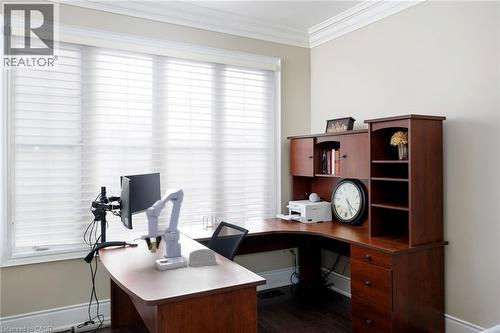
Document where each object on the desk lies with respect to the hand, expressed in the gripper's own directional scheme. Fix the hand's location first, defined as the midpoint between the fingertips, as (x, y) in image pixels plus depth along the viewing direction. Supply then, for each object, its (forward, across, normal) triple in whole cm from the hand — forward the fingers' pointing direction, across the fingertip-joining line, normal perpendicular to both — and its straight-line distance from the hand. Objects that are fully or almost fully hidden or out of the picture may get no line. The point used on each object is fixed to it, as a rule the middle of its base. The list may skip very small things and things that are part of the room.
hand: (153, 249), depth 223 cm
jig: (+9, +7, -11) cm, 15 cm away
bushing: (+2, 0, 0) cm, 2 cm away
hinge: (+9, +24, -18) cm, 31 cm away
